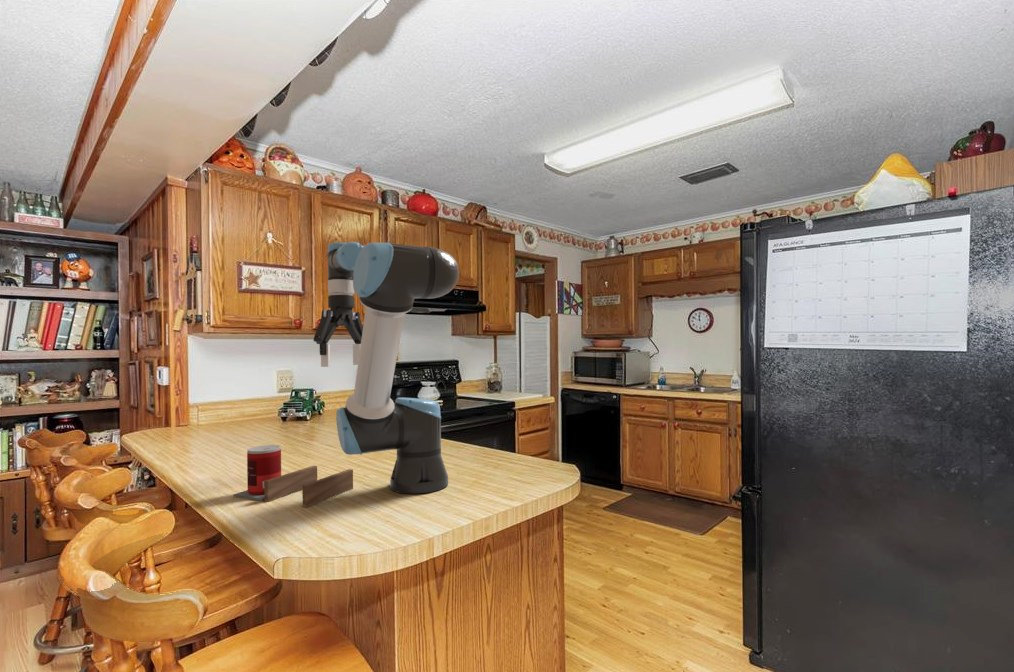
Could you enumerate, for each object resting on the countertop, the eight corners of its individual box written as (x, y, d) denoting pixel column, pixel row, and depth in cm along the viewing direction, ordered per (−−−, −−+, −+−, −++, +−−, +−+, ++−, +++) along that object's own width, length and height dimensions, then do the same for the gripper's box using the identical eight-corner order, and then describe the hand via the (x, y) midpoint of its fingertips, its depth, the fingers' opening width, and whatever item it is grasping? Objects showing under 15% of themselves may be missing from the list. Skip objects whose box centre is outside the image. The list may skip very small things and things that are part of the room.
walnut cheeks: (353, 488, 129) (352, 469, 129) (306, 507, 114) (306, 485, 114) (314, 483, 134) (313, 465, 134) (264, 501, 119) (264, 480, 119)
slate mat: (294, 489, 129) (294, 487, 129) (262, 501, 120) (262, 498, 120) (266, 486, 133) (266, 484, 133) (233, 496, 123) (233, 494, 123)
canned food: (287, 486, 130) (286, 444, 130) (269, 495, 122) (269, 451, 122) (260, 486, 130) (259, 444, 131) (240, 495, 123) (240, 451, 123)
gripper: (358, 299, 161) (359, 364, 160) (299, 292, 138) (300, 367, 137) (377, 297, 158) (378, 364, 157) (320, 290, 135) (321, 367, 134)
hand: (342, 365), depth 147 cm, fingers open, 13 cm apart
